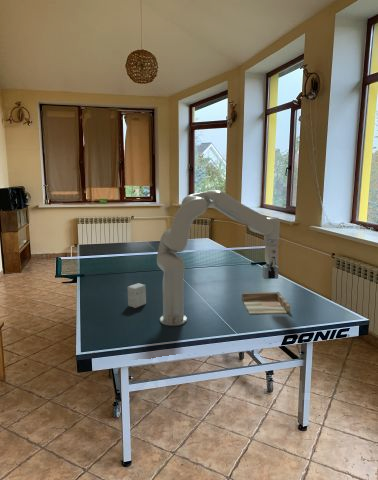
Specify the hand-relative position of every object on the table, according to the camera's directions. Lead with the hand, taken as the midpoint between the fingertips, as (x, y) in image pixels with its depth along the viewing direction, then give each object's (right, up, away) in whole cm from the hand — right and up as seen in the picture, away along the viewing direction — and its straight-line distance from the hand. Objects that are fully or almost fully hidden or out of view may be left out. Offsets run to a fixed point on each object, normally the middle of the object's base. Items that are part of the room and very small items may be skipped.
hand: (270, 276), depth 192 cm
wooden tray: (-3, -15, +1) cm, 16 cm away
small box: (-69, -15, +4) cm, 71 cm away
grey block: (0, -1, 0) cm, 1 cm away
